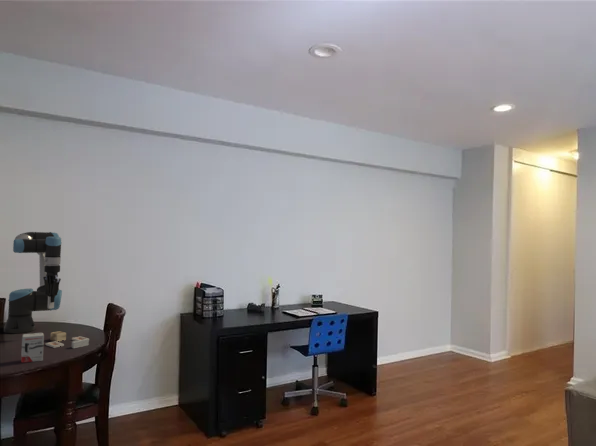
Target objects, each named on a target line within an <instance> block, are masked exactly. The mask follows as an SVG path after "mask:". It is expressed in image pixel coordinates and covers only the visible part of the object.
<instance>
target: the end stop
mask: <svg viewBox="0 0 596 446" xmlns="http://www.w3.org/2000/svg"><path fill="white" fill-rule="evenodd" d="M89 345H90V338H88V339H83V340H78V341H74V340H72V341H71V348H72V349H76V348H82V347H87V346H89Z"/></svg>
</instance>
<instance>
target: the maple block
mask: <svg viewBox="0 0 596 446" xmlns="http://www.w3.org/2000/svg"><path fill="white" fill-rule="evenodd" d="M49 340H50V341H51V342H54V341H56V342H58V341H59V342H63V341H62V340H64V341H66V340H67V332H64V331H60V330H59V331H58V330H57V331H53V332H50V339H49Z"/></svg>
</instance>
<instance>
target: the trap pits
mask: <svg viewBox="0 0 596 446" xmlns="http://www.w3.org/2000/svg"><path fill="white" fill-rule="evenodd" d="M83 339H89V338H88V337H84V336H81V335H80V336H74V337H71V341H78V340H83ZM45 346H47V347H50V348H54V349H55V348H61V347H64V346H65V344H64V343H62V342H60V341H59V342H56V341H50V342H45ZM60 346H61V347H60Z"/></svg>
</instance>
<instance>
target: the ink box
mask: <svg viewBox="0 0 596 446" xmlns="http://www.w3.org/2000/svg"><path fill="white" fill-rule="evenodd" d="M44 341H45V334H44V333H43V332H35V333H22V336H21V352H20V353H21V354H20V361H21V362H20V363H33V362H40V361H41V362H42V361H44V344H45V343H44Z"/></svg>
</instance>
